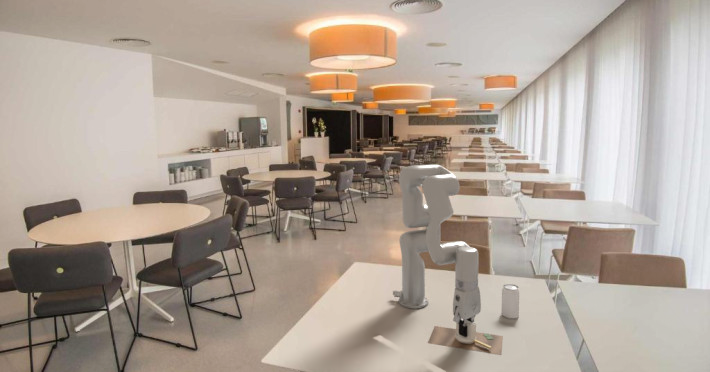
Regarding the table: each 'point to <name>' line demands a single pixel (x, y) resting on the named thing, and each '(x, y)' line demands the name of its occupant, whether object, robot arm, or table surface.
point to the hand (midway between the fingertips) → (465, 333)
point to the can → (510, 301)
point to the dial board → (448, 339)
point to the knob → (469, 334)
